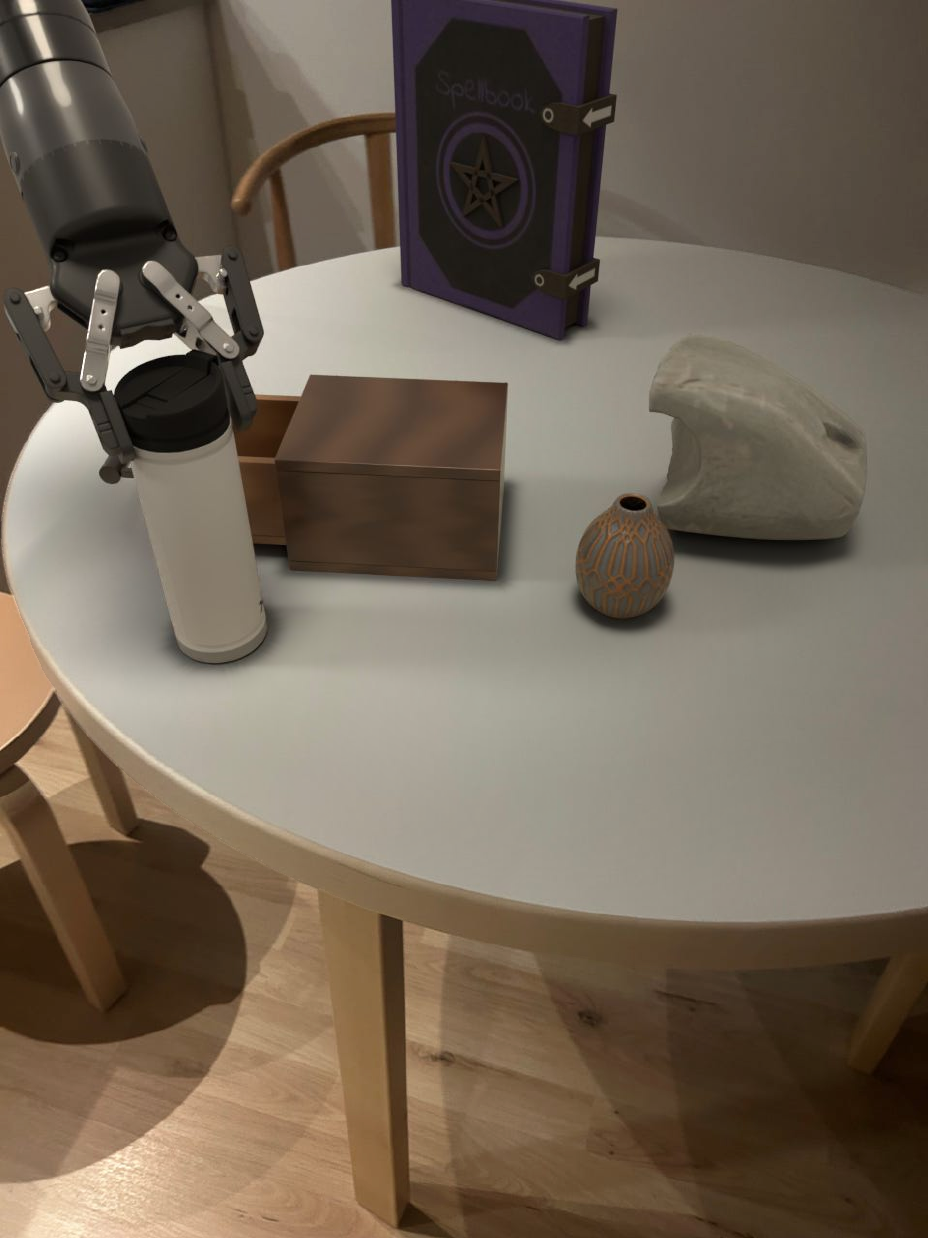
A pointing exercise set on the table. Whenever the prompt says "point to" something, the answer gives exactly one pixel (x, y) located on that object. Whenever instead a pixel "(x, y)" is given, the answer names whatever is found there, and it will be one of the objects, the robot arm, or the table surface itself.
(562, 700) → the table surface
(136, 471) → the travel mug
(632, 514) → the vase
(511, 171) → the book
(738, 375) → the decorative stone
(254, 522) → the drawer
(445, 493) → the cabinet
